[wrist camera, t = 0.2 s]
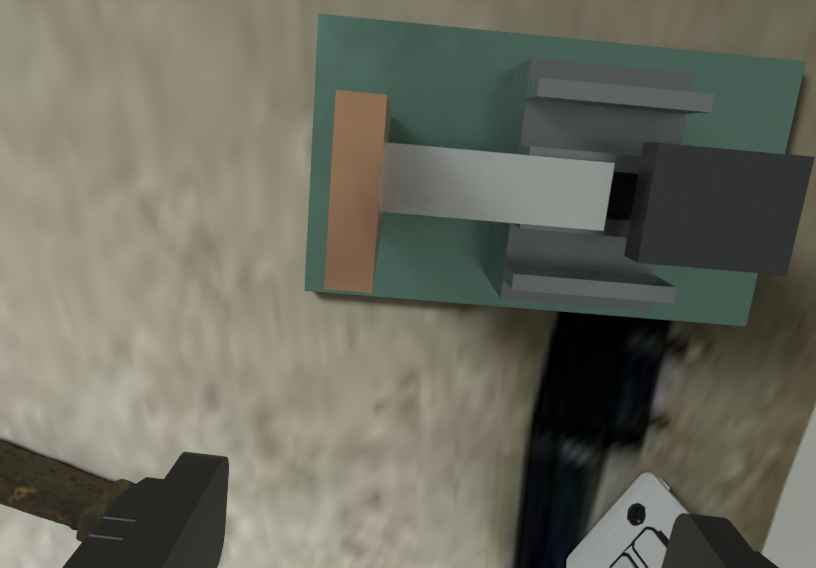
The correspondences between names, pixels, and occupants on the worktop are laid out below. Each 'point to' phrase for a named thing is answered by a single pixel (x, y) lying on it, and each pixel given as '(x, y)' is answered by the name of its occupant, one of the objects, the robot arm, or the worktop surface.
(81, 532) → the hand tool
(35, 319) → the worktop surface
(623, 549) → the electrical switch
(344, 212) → the upright wooden plank
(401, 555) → the worktop surface
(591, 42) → the base
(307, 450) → the worktop surface
